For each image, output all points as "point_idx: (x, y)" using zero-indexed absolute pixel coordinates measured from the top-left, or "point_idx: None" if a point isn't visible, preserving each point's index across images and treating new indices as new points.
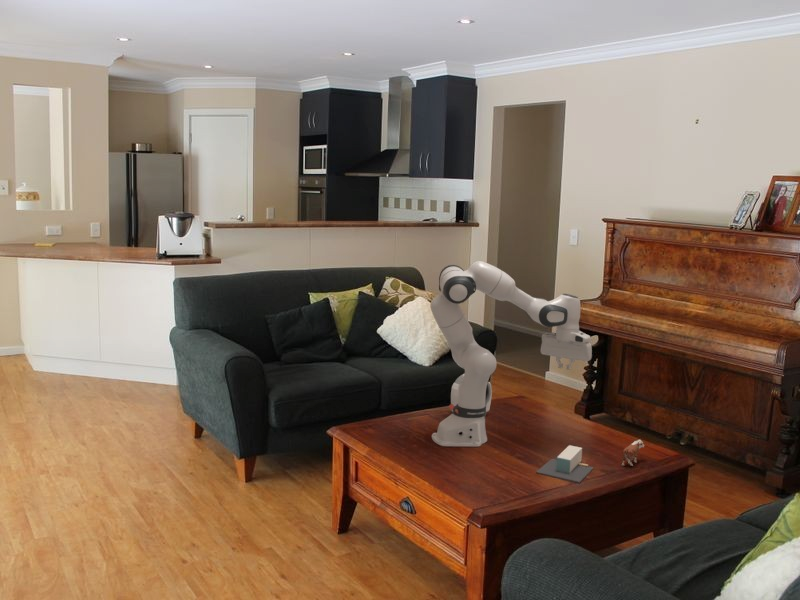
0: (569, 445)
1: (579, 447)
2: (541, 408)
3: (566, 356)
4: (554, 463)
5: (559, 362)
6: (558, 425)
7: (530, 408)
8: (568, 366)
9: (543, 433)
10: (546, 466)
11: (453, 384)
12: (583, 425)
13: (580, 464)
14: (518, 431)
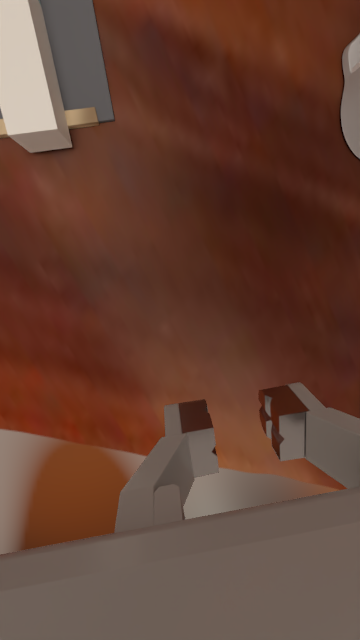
0: (55, 126)
1: (17, 131)
2: None
3: (256, 543)
4: (82, 71)
5: (324, 431)
6: (238, 395)
7: None
8: (184, 423)
9: (240, 315)
10: (84, 17)
11: None
12: None
13: None
14: (299, 281)
